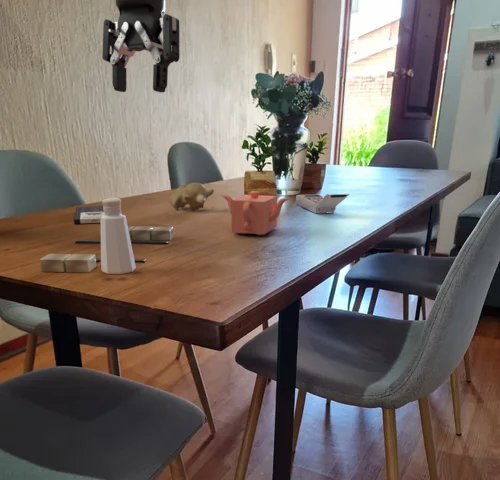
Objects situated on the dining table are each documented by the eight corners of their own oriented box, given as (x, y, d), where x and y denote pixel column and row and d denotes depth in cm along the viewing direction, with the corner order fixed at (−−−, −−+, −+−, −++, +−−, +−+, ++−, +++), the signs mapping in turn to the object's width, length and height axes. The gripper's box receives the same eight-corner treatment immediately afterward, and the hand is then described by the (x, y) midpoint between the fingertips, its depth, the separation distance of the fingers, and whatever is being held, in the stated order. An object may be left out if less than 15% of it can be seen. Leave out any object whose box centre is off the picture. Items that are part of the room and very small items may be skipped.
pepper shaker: (116, 263, 84) (108, 195, 80) (143, 267, 82) (137, 197, 78) (93, 272, 80) (84, 200, 75) (121, 276, 77) (114, 202, 73)
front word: (41, 271, 80) (39, 259, 79) (60, 259, 87) (58, 248, 86) (134, 273, 79) (133, 260, 78) (146, 261, 86) (145, 249, 85)
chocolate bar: (112, 205, 133) (114, 217, 117) (112, 209, 133) (115, 221, 117) (76, 207, 131) (73, 219, 115) (76, 210, 131) (74, 223, 115)
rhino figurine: (184, 183, 137) (212, 173, 128) (196, 207, 140) (224, 199, 131) (162, 195, 132) (189, 185, 124) (175, 220, 135) (202, 212, 126)
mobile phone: (327, 194, 118) (292, 181, 140) (325, 219, 120) (291, 203, 142) (351, 193, 119) (313, 181, 141) (349, 219, 122) (311, 202, 144)
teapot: (231, 224, 115) (231, 186, 111) (296, 229, 110) (297, 189, 107) (210, 235, 104) (209, 193, 101) (280, 240, 100) (281, 197, 96)
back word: (75, 243, 98) (74, 232, 97) (88, 235, 104) (86, 225, 104) (167, 244, 97) (166, 234, 96) (174, 236, 103) (174, 226, 103)
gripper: (89, -29, 78) (90, 87, 83) (160, -40, 71) (157, 87, 76) (124, -12, 84) (123, 95, 89) (193, -20, 78) (188, 95, 82)
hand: (139, 91), depth 83 cm, fingers open, 8 cm apart
